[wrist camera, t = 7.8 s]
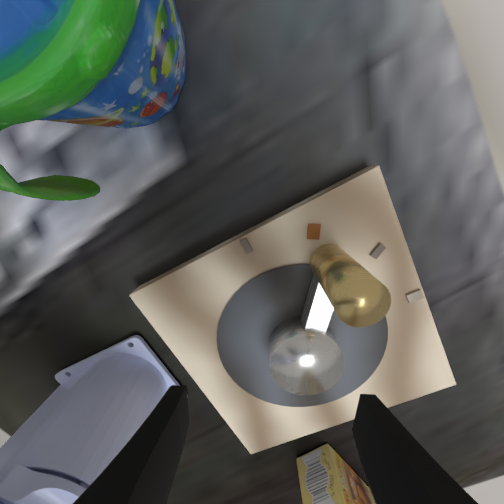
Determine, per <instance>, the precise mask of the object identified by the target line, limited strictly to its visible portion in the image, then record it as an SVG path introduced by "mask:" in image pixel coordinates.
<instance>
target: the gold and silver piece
mask: <svg viewBox="0 0 504 504" xmlns="http://www.w3.org/2000/svg"><path fill="white" fill-rule="evenodd" d="M309 263H310V268H311V270H312V272H313V273H314V275H313V278H312V281H311V285H310V288H309V292H308V295H307V299H306V302H305V306H304V309H303V313H302V316H300V317H294V318H290V319H288V320H286V321H284V322H282V323H280V324H279V325H278V326H277V327H276V328H275V329H274V330H273V332H272V334H271V336H270V338H269V361H270V372H271V375H272V378H273V380H274V381H275V382H276V384H277V385H278V386H279V387H281V388H282V389H284V390H285V391H287V392H290V393H293V394H297V395H314V394H319V393H322V392H324V391H326V390H328V389H330V388H331V387H333V386H334V385H335V384H336V383H337V382H338V381H339V380H340V378H341V376H342V374H343V372H344V367H345V361H344V357H343V354H342V352H341V350H340V348H339V346H338V344H337V342H336V339H335V337H334V335H333V333H332V331H331V330H330V328H329V327H328V324H329V321H330V318H331V315H332V312H333V309H334V310H335V312H336V313H337V315H338V317H339V318H340V320H341V321H342V322H344V323H345V324H347V325H349V326H352V327H368V326H371V325H374V324H376V323H377V322H379V321H380V320H382V319H383V318H384V317H385V315H386V314H387V313H388V311H389V309H390V306H391V295H390V292H389V290H388V289H387V287H386V286H385V285H383V284H382V283H381V282H380V281H379V280H378V279H376V278H375V277H374V276H373V275H372V274H371V273H370V272H368V271H367V270H366V269H365V268H364V267H363V266H361V265H360V264H359V263H358V262H357V261H356V260H354V259H353V258H352V257H351V256H350V255H349V254H347V253H346V252H345V251H344V250H343V249H342V248H340V247H339V246H337V245H335V244H324V245H321V246H319V247H318V248H316V249H315V250H314V251H313V253H312V254H311V257H310V261H309Z"/></svg>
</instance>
